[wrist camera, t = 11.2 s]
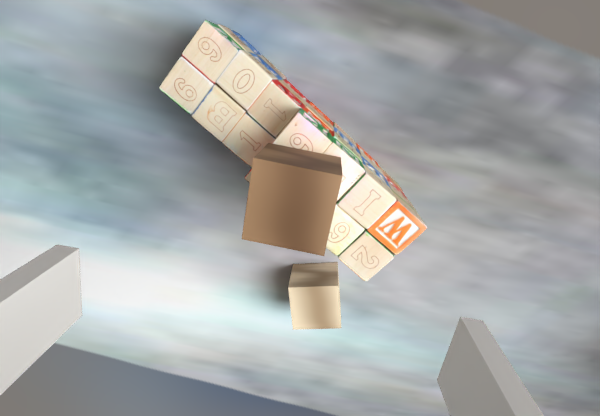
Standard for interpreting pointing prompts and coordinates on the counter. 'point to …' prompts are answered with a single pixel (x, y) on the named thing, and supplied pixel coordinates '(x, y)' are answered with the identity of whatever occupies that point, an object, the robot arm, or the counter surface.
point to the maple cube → (315, 296)
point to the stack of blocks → (291, 141)
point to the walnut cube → (292, 198)
